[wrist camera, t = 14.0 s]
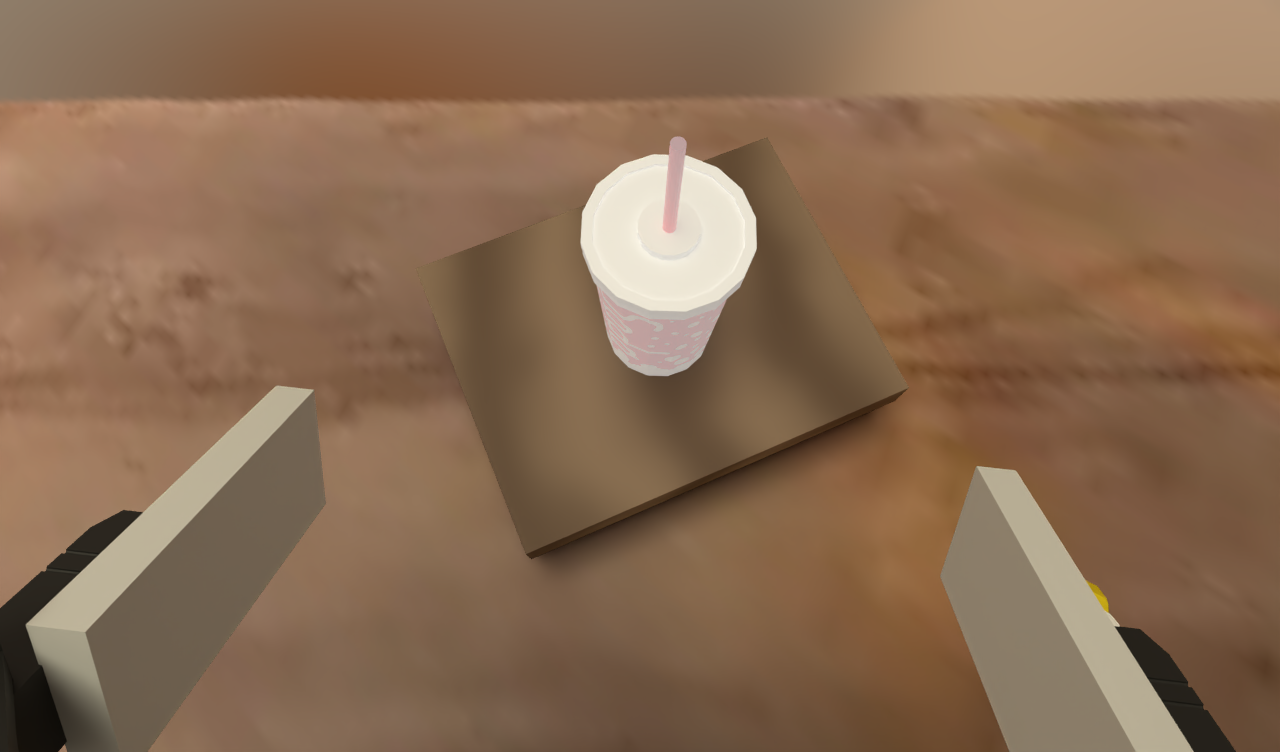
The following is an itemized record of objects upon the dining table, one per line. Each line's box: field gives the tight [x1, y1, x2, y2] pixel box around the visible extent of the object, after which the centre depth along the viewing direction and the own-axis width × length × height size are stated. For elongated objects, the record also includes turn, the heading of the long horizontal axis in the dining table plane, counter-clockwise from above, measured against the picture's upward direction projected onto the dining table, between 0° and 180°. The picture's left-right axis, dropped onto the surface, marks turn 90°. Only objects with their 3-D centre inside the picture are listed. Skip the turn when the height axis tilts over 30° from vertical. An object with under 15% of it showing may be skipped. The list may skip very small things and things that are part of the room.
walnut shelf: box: [416, 138, 909, 559], centre depth 39 cm, size 18×14×5 cm
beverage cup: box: [581, 137, 757, 376], centre depth 30 cm, size 6×6×14 cm
